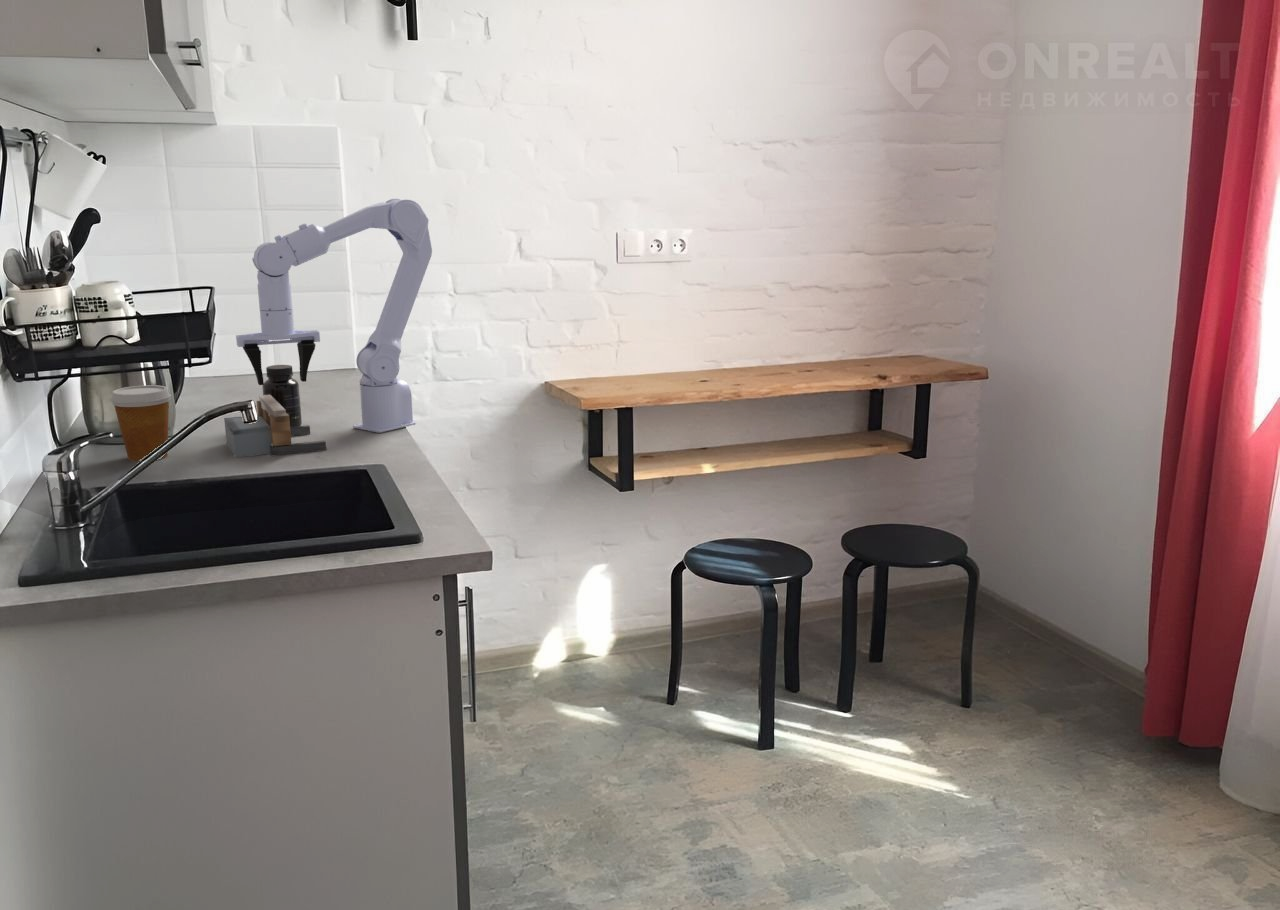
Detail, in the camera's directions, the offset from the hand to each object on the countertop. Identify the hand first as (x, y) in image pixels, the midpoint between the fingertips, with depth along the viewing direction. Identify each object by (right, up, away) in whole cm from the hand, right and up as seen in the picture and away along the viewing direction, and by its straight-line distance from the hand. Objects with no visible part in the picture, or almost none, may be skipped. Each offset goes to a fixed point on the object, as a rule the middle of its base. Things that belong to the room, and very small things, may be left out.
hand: (282, 382), depth 200 cm
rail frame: (+3, -11, -3) cm, 12 cm away
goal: (-3, -12, -6) cm, 14 cm away
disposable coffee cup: (-19, -14, -12) cm, 27 cm away
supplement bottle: (-3, -8, +11) cm, 14 cm away
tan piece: (0, -12, -4) cm, 12 cm away
